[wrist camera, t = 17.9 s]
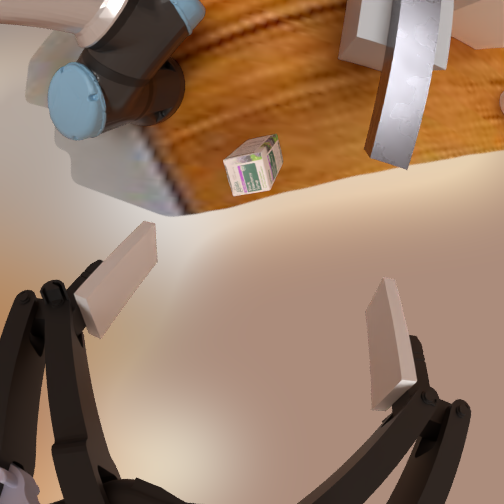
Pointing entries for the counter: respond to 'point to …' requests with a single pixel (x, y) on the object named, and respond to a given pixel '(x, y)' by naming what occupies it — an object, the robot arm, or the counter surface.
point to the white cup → (502, 102)
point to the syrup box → (254, 165)
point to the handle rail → (404, 81)
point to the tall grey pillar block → (384, 33)
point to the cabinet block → (479, 23)
